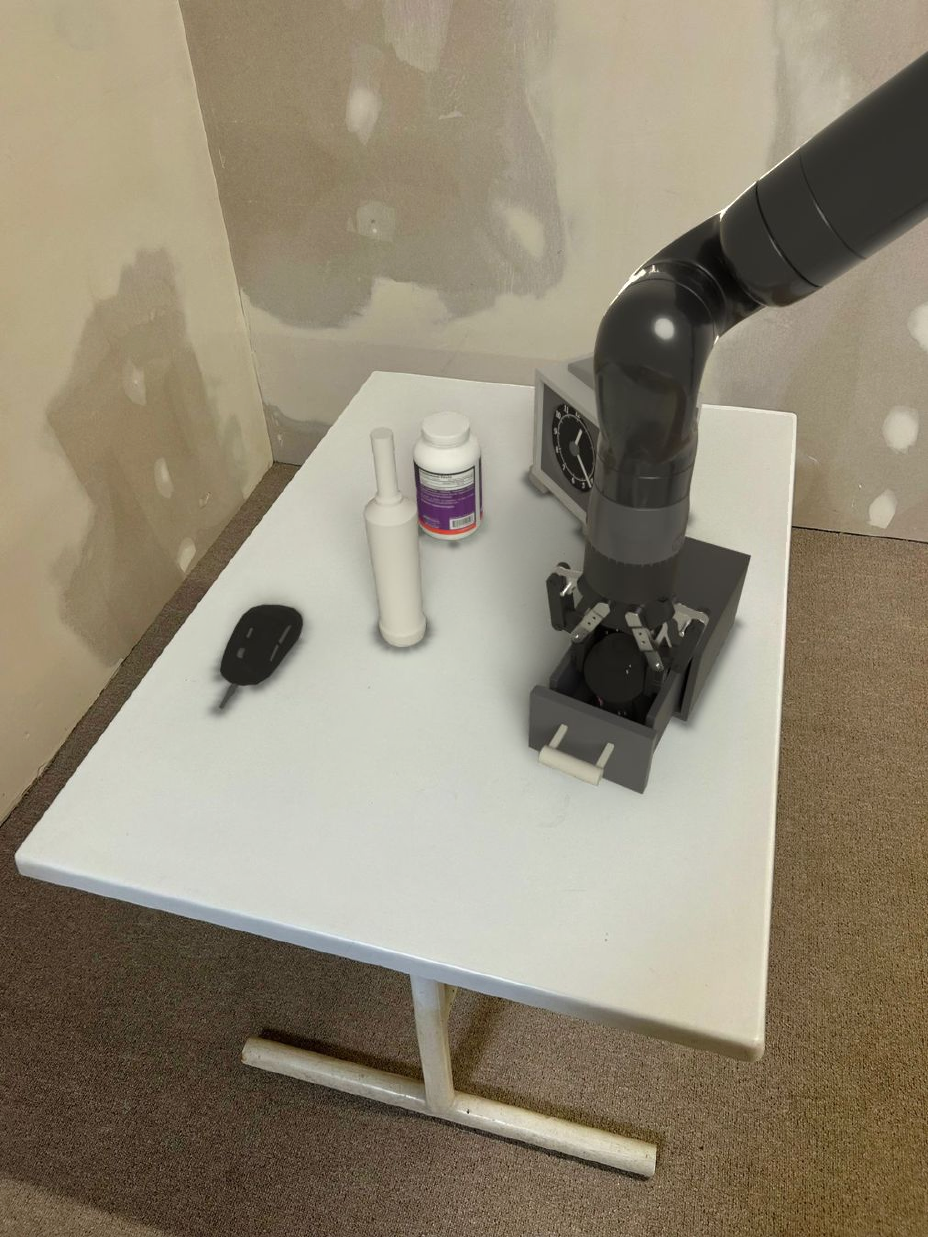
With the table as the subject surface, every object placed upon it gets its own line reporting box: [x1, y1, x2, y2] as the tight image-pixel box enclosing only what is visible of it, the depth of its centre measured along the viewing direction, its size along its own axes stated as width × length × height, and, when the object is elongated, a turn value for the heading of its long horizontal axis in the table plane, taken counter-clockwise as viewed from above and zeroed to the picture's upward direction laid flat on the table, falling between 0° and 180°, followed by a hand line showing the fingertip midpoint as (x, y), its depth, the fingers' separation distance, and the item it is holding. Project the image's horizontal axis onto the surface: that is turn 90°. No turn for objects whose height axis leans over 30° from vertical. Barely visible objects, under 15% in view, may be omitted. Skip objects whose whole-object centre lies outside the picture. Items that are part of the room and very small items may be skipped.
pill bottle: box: [412, 411, 484, 541], centre depth 103 cm, size 8×8×14 cm
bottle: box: [362, 426, 427, 648], centre depth 86 cm, size 5×5×25 cm
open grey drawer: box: [527, 624, 693, 795], centre depth 80 cm, size 19×11×8 cm, turn 151°
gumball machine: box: [584, 629, 649, 722], centre depth 79 cm, size 7×6×10 cm
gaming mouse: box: [218, 603, 304, 709], centre depth 91 cm, size 6×15×4 cm, turn 161°
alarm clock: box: [528, 351, 705, 537], centre depth 105 cm, size 18×13×18 cm
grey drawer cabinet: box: [570, 535, 752, 722], centre depth 88 cm, size 16×13×10 cm
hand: (616, 676), depth 78 cm, fingers closed on gumball machine, 6 cm apart
